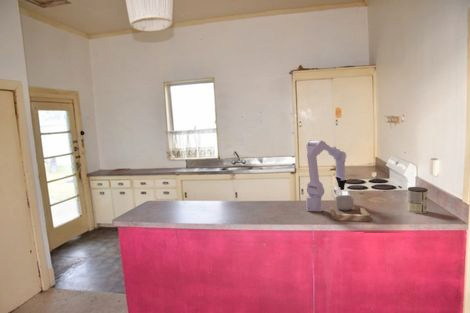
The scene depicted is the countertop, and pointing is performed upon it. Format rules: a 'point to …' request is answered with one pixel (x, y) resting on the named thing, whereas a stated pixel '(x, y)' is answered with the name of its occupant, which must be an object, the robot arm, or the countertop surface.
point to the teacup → (344, 202)
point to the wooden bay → (351, 215)
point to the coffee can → (417, 200)
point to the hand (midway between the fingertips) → (341, 188)
